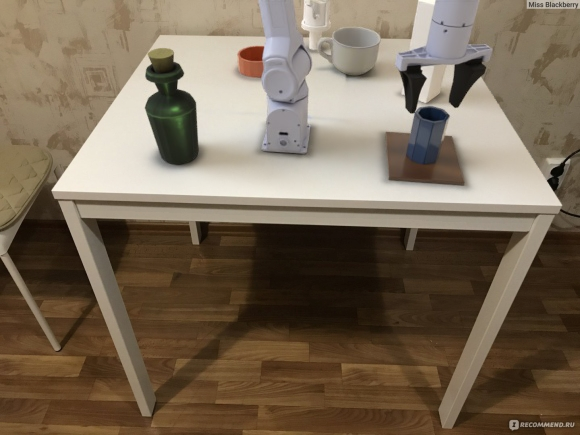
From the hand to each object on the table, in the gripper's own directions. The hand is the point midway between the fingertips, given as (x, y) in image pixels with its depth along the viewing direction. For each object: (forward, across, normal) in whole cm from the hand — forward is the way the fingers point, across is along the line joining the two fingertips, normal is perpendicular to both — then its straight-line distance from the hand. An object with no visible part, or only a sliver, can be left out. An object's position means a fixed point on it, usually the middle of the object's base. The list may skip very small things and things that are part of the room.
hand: (431, 107), depth 73 cm
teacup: (+10, +1, -37) cm, 38 cm away
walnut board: (+10, 0, 0) cm, 10 cm away
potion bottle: (+10, +40, -11) cm, 43 cm away
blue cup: (+9, 0, 0) cm, 9 cm away
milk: (+10, -11, -22) cm, 26 cm away
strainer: (+10, +4, -50) cm, 51 cm away
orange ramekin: (+10, +21, -41) cm, 47 cm away
